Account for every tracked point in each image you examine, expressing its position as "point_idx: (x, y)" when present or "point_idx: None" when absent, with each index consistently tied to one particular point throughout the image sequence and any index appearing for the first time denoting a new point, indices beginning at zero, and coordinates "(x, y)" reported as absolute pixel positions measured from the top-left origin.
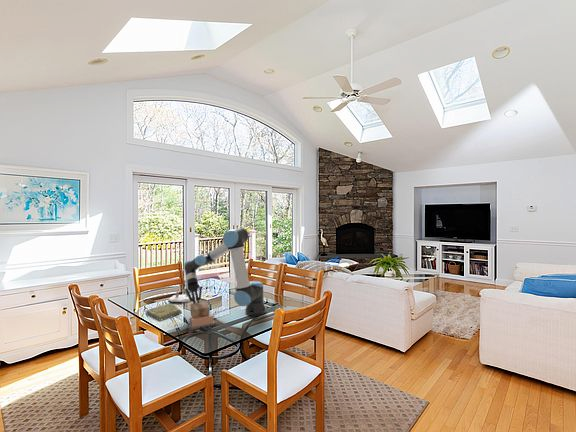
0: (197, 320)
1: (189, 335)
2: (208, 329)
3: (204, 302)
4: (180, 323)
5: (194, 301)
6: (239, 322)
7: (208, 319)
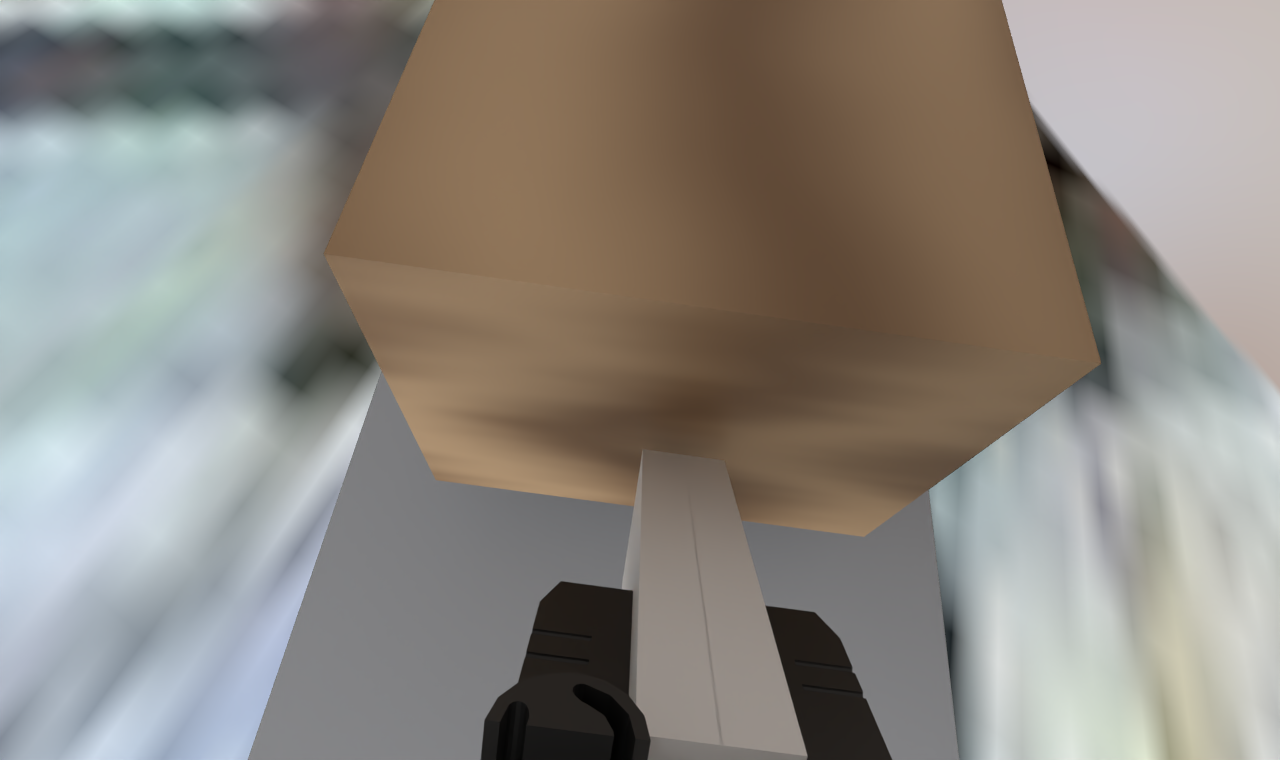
0: None
1: None
2: None
3: (416, 167)
4: (1046, 561)
5: (817, 748)
6: (108, 25)
7: None
